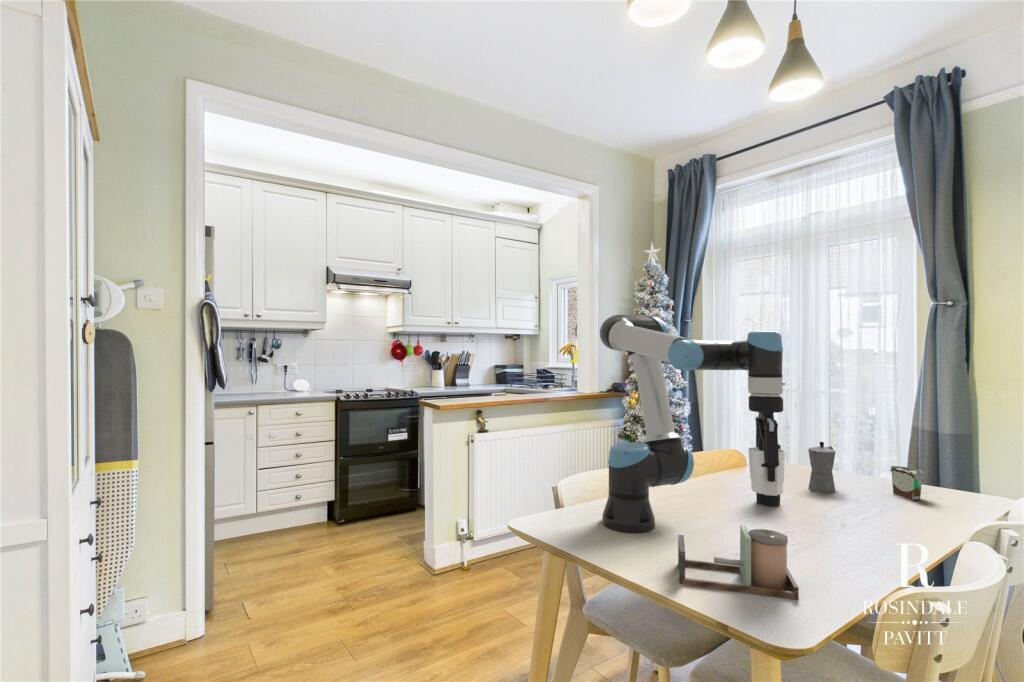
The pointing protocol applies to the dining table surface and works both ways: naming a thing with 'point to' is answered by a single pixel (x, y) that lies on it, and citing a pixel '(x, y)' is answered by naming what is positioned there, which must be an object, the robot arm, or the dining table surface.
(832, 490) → the coffeepot
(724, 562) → the pusher plate
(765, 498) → the travel mug
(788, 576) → the brown wooden rack
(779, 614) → the dining table surface
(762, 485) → the white cup
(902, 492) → the food container
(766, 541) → the terracotta jar
